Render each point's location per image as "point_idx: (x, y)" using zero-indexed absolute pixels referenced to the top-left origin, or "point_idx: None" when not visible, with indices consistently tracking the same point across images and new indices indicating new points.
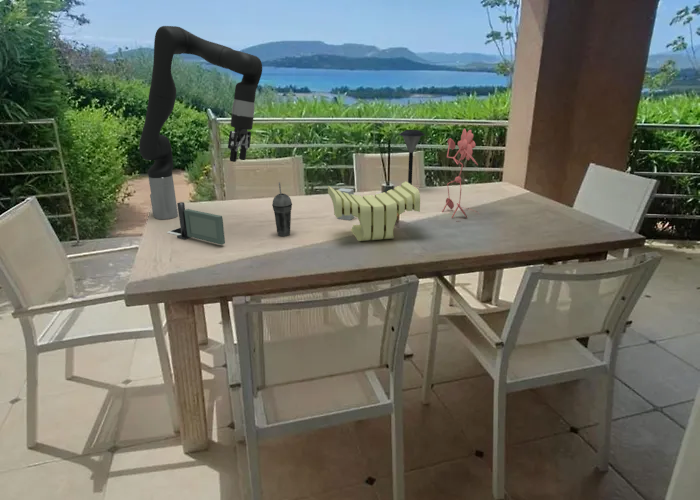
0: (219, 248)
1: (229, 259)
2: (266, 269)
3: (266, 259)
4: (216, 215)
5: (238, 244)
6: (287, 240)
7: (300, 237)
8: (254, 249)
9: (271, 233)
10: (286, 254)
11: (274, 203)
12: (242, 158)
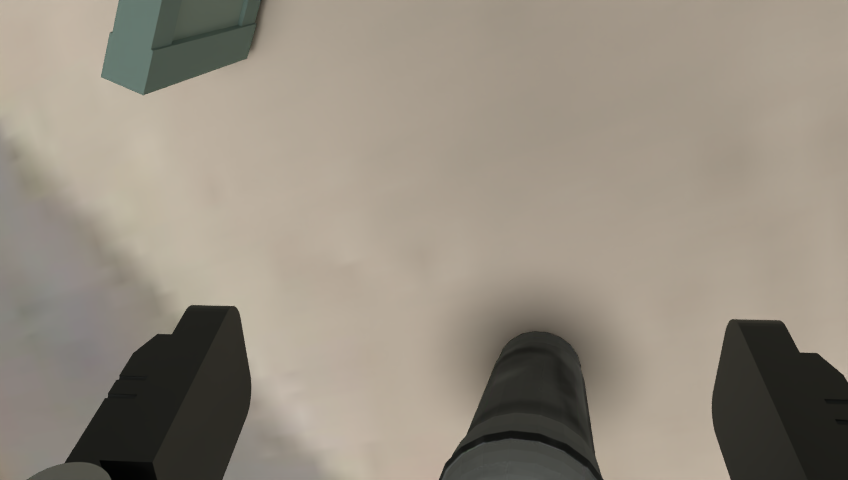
0: None
1: (72, 167)
2: (27, 384)
3: None
4: (138, 37)
5: (302, 132)
6: (431, 407)
7: None
8: (246, 258)
9: (551, 285)
10: None
11: (453, 476)
12: (723, 391)
